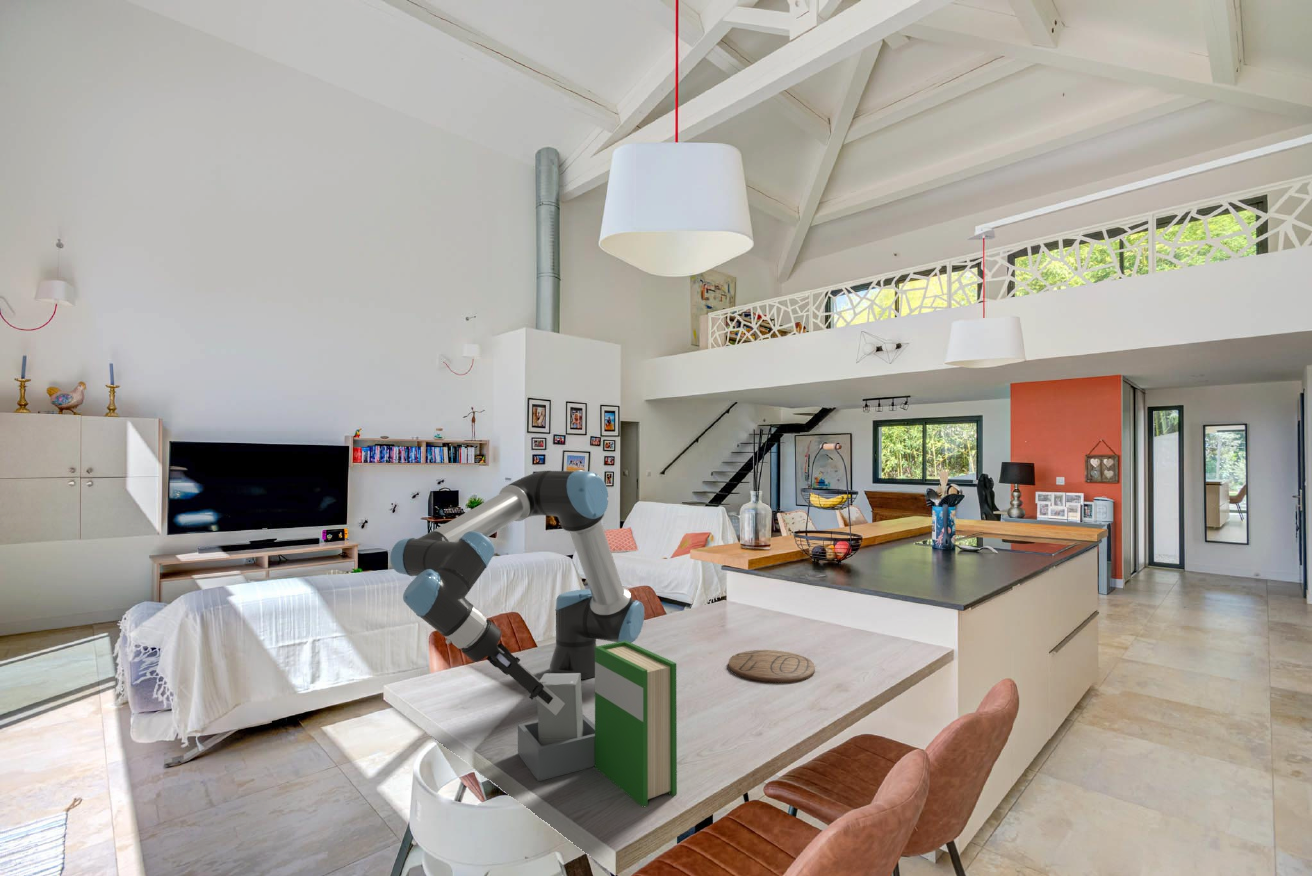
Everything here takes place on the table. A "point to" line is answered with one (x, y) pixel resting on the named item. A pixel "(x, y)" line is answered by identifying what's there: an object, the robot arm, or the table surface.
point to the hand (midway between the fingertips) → (547, 697)
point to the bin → (556, 751)
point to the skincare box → (569, 716)
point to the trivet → (771, 666)
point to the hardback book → (636, 720)
